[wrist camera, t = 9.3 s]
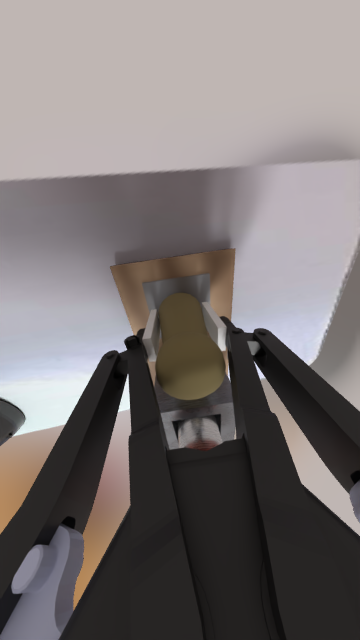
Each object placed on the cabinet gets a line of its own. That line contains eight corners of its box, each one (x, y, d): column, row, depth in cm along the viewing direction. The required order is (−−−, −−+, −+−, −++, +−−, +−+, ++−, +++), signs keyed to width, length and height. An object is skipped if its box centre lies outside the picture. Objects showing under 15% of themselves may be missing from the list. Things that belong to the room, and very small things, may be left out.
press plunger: (174, 408, 23) (176, 493, 15) (167, 382, 20) (165, 472, 12) (213, 402, 23) (237, 483, 15) (213, 375, 20) (243, 460, 12)
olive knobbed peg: (198, 287, 17) (240, 339, 7) (204, 327, 20) (240, 403, 10) (152, 298, 17) (130, 362, 7) (164, 336, 20) (160, 419, 10)
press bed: (155, 385, 30) (154, 396, 28) (115, 265, 18) (107, 267, 16) (223, 375, 31) (228, 385, 28) (229, 248, 18) (237, 248, 16)
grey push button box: (167, 388, 28) (166, 451, 19) (157, 353, 24) (151, 414, 15) (213, 381, 28) (233, 440, 19) (213, 345, 24) (239, 401, 15)
